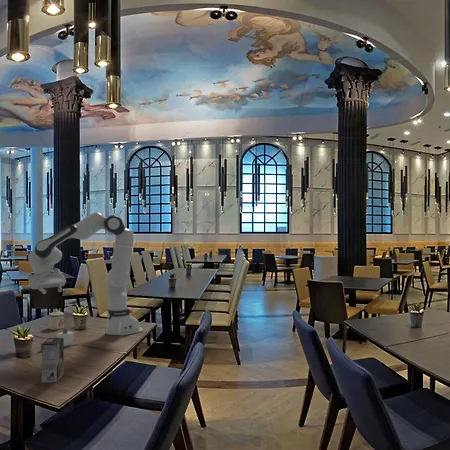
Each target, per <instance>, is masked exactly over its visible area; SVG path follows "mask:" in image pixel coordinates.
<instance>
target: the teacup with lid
mask: <svg viewBox="0 0 450 450" xmlns="http://www.w3.org/2000/svg"><path fill="white" fill-rule="evenodd" d="M64 318H65V313H64V312H62V311H59V309H55V310H54V311H52V312H50V313H49V314H48V329H49V330H53V331H54V330H56V331H57V330H61V329H62V330H63V328H65V327H64V325H65V322H64V321H65V319H64Z"/></svg>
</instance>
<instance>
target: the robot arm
mask: <svg viewBox="0 0 450 450" xmlns="http://www.w3.org/2000/svg"><path fill="white" fill-rule="evenodd" d="M103 229H104V231H106V232H107V233H109V234H112V235H114V236H115V237H114V238H115V241H114V246H113V251H112V252H113V253H112V262H111V263H112V264H111V265H112V266H111V269H110V270H109V271H108V272H107V277H106V278H107V291H108V292H107V294H108V308H107V315H106V316H107V324H106V329H105V334H106V335H111V336H126V335H127V336H128V335H130V334H131V335H132V334H136V333H142V332H143V331H144V329H143V327H141V326H140V322H139V320H138V319H137V318H135V317H134V316H133V315H131V314H133V312H134V311H133V309H129V308H128V293H127V286H128V284H129V282H130V274H131V260H132V253H133V247H134V237H135V236H134V234H135V233H134V232H133V230H131V229H130V228H126V227H125V224H124V221H123V219H122V218H121V217H120V216H119V215H116V214H112V215H109V216H107V217H106V216H104V215H103V214H102V213H101V212H99V211H95V212H92V213H91V214H89V215H87V216H85V217H84V218H83V219H81V220H80V221H78V222H76V223H74V224H71V225H68V226H66V227H65V228H62V229H61V230H59V231H57V232H55V234H54V233H53V234H52V235H51V236H49V237H47V238H44V239H42V240H40V241H38V242H37V243H36V244H35V247H34V249H33V250H31V251H30V252H29V253H28V255H27V260H28V263H29V265H30V268H31V269H32V270H33V273H32V274H29V275H27V276H26V279H27V280H28V284H29V287H30V289H32V290H38V291H39V292H41V293H42V295H46V294H47V290H46V289H47V288H57V292H58V293H61V292H63V288H62V287H64V286H65V284H66V283H67V280H66V278H65V276H64V274H63V273H62V272H61V269H59V268H55V267H52V266H54V265H56V264H57V263H59V262H60V261H61V260H62V258H63V252H62V251H61V250H60V249H59V247H57V246H58V245H60V244H62V243H63V242H65V241H66V240H68V239H69V240H70V239H78V240H81V241H82V240H87V239H89V238H91V237H93V236H94V235H95V234H96V233H97V232H99V231H100V230H103Z"/></svg>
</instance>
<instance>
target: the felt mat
mask: <svg viewBox="0 0 450 450" xmlns="http://www.w3.org/2000/svg"><path fill="white" fill-rule="evenodd" d="M77 345H78V343H76V342H74V344H71V345H67V346H64V348H68V347H72V346H77Z"/></svg>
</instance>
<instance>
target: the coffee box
mask: <svg viewBox="0 0 450 450" xmlns="http://www.w3.org/2000/svg"><path fill="white" fill-rule="evenodd" d="M43 342H44V343H43V344H42V351H41V383H57V382H58V381H59V380H60V379H61V378H62V377H63V376H64V364H65V363H64V362H65V361H64V353H65V350H64V338H57V337H48V338H47V339H46V340H45V341H43Z"/></svg>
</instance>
